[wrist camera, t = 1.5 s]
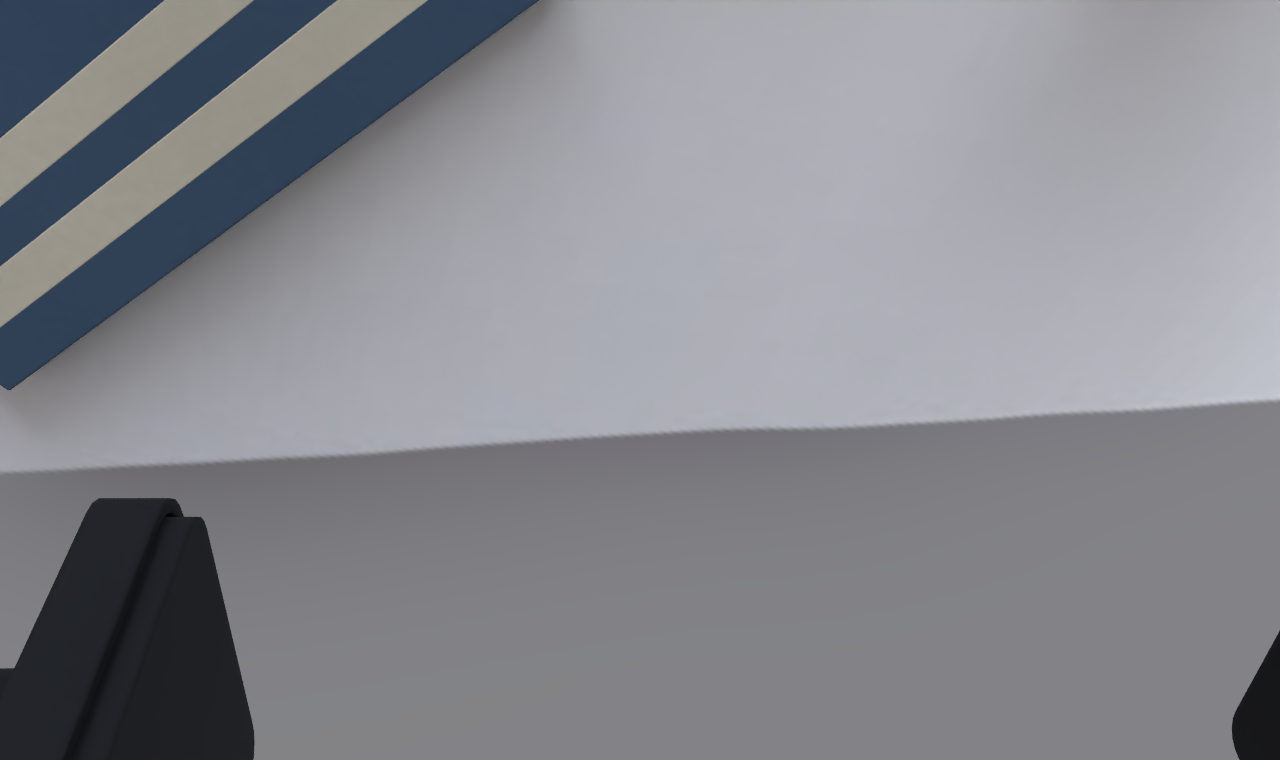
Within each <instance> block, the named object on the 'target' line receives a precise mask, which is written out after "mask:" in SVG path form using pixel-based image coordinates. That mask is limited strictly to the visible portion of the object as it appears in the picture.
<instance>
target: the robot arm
mask: <svg viewBox="0 0 1280 760" xmlns="http://www.w3.org/2000/svg"><path fill="white" fill-rule="evenodd" d="M1232 737H1233V742H1234V747H1235V750H1236V752H1237V755H1238V757H1239V759H1240V760H1280V631H1279V633H1278V635H1277V637H1276V639H1275V641H1274V642H1273V644H1272V646H1271V648H1270V650H1269V651H1268V654H1267V655H1266V657H1265V659H1264V661H1263V663H1262V664H1261V666H1260V668H1259V670H1258V671H1257V673H1256V675H1255V677H1254V679H1253V681H1252V683H1251V684H1250V686H1249V688H1248V690H1247V692H1246V693H1245V695H1244V697H1243V699H1242V701H1241V703H1240V704H1239V706H1238V708H1237V710H1236V712H1235V715H1234V717H1233V723H1232ZM253 758H254V730H253V724H252V719H251V715H250V711H249V707H248V702H247V698H246V694H245V690H244V686H243V681H242V677H241V672H240V668H239V664H238V660H237V656H236V651H235V647H234V643H233V639H232V635H231V630H230V626H229V622H228V617H227V613H226V609H225V604H224V600H223V596H222V592H221V587H220V584H219V579H218V574H217V570H216V566H215V562H214V557H213V553H212V549H211V545H210V540H209V536H208V532H207V528H206V525H205V522H204V520H203V519H202V518H201V517H184V516H183V513H182V511H181V508H180V505H179V504H178V503H177V501H176V500H175V499H170V498H116V499H115V498H100V499H98V500H96V501H95V502H93V503H92V505H91V506H90V508H89V509H88V511H87V513H86V515H85V517H84V519H83V521H82V523H81V526H80V528H79V530H78V532H77V534H76V536H75V538H74V541H73V543H72V545H71V547H70V549H69V552H68V554H67V556H66V558H65V560H64V562H63V564H62V567H61V569H60V571H59V573H58V575H57V578H56V580H55V582H54V584H53V586H52V588H51V590H50V593H49V595H48V597H47V599H46V601H45V603H44V605H43V608H42V610H41V612H40V614H39V617H38V618H37V621H36V623H35V625H34V627H33V630H32V631H31V634H30V636H29V638H28V640H27V642H26V645H25V647H24V649H23V651H22V653H21V655H20V658H19V660H18V662H17V664H16V666H15V668H14V669H13V668H7V669H0V760H253Z"/></svg>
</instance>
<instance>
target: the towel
mask: <svg viewBox="0 0 1280 760" xmlns="http://www.w3.org/2000/svg"><path fill="white" fill-rule="evenodd" d="M537 1H539V0H0V385H1V386H3V387H4V388H5V389H7V390H11V389H12V388H14V387H15V386H16V385H18V384H19V383H21V382H22V381H23V380H25V379H26V378H27V377H29V376H30V375H31V374H33V373H34V372H35V371H37V370H38V369H40V368H41V367H42V366H44V365H45V364H46V363H48V362H49V361H50V360H52V359H53V358H54V357H56V356H57V355H59V354H60V353H61V352H63V351H64V350H65V349H67V348H68V347H69V346H71V345H72V344H73V343H75V342H76V341H78V340H79V339H80V338H82V337H83V336H84V335H86V334H87V333H88V332H90V331H91V330H92V329H94V328H95V327H96V326H98V325H99V324H101V323H102V322H103V321H105V320H106V319H107V318H109V317H110V316H111V315H113V314H114V313H115V312H117V311H118V310H120V309H121V308H122V307H124V306H125V305H126V304H128V303H129V302H130V301H132V300H133V299H134V298H136V297H137V296H139V295H140V294H141V293H143V292H144V291H145V290H147V289H148V288H149V287H151V286H152V285H153V284H155V283H156V282H158V281H159V280H160V279H162V278H163V277H164V276H166V275H167V274H168V273H170V272H171V271H172V270H174V269H175V268H177V267H178V266H179V265H181V264H182V263H183V262H185V261H186V260H187V259H189V258H190V257H191V256H193V255H194V254H196V253H197V252H198V251H200V250H201V249H202V248H204V247H205V246H206V245H208V244H209V243H210V242H212V241H213V240H215V239H216V238H217V237H219V236H220V235H221V234H223V233H224V232H225V231H227V230H228V229H229V228H231V227H232V226H234V225H235V224H236V223H238V222H239V221H240V220H242V219H243V218H244V217H246V216H247V215H248V214H250V213H251V212H253V211H254V210H255V209H257V208H258V207H259V206H261V205H262V204H263V203H265V202H266V201H267V200H269V199H270V198H272V197H273V196H274V195H276V194H277V193H278V192H280V191H281V190H282V189H284V188H285V187H286V186H288V185H289V184H290V183H292V182H293V181H295V180H296V179H297V178H299V177H300V176H301V175H303V174H304V173H305V172H307V171H308V170H309V169H311V168H312V167H314V166H315V165H316V164H318V163H319V162H320V161H322V160H323V159H324V158H326V157H327V156H328V155H330V154H331V153H333V152H334V151H335V150H337V149H338V148H339V147H341V146H342V145H343V144H345V143H346V142H347V141H349V140H350V139H352V138H353V137H354V136H356V135H357V134H358V133H360V132H361V131H362V130H364V129H365V128H366V127H368V126H369V125H371V124H372V123H373V122H375V121H376V120H377V119H379V118H380V117H381V116H383V115H384V114H385V113H387V112H388V111H390V110H391V109H392V108H394V107H395V106H396V105H398V104H399V103H400V102H402V101H403V100H404V99H406V98H407V97H409V96H410V95H411V94H413V93H414V92H415V91H417V90H418V89H419V88H421V87H422V86H423V85H425V84H426V83H428V82H429V81H430V80H432V79H433V78H434V77H436V76H437V75H438V74H440V73H441V72H442V71H444V70H445V69H447V68H448V67H449V66H451V65H452V64H453V63H455V62H456V61H457V60H459V59H460V58H461V57H463V56H464V55H466V54H467V53H468V52H470V51H471V50H472V49H474V48H475V47H476V46H478V45H479V44H480V43H482V42H483V41H485V40H486V39H487V38H489V37H490V36H491V35H493V34H494V33H495V32H497V31H498V30H499V29H501V28H502V27H503V26H505V25H506V24H508V23H509V22H510V21H512V20H513V19H514V18H516V17H517V16H518V15H520V14H521V13H522V12H524V11H525V10H527V9H528V8H529V7H531V6H532V5H533V4H535V3H536V2H537Z"/></svg>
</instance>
